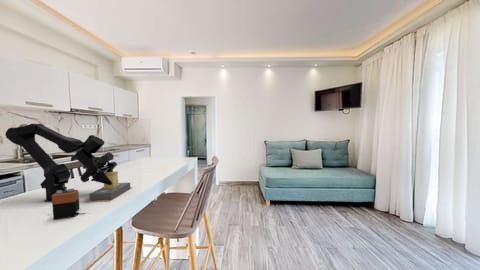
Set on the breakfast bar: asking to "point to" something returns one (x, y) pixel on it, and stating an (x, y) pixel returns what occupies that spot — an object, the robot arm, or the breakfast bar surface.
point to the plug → (112, 180)
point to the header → (108, 193)
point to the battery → (65, 203)
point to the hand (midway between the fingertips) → (114, 183)
